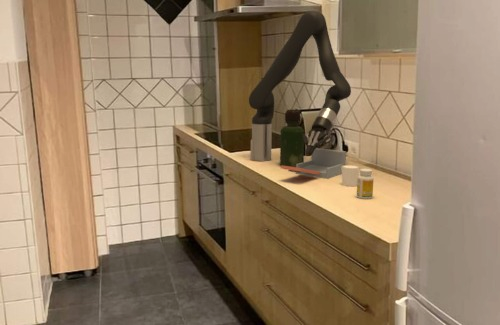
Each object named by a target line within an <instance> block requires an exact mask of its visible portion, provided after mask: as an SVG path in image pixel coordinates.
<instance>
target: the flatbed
mask: <svg viewBox="0 0 500 325" xmlns="http://www.w3.org/2000/svg"><path fill="white" fill-rule="evenodd" d="M310 157H311V158H310V160H307V161H304V162H302V163H299V164H296V168H303V169H308V170H313V171H319V172H320V175H318V174H312V173H305V172H301V173H297V172H295V174H297V175H304V176H309V177H314V176H315V177H314V178H322V179H331V178H334V177H337V176H340V175H342V168H341V167H342V166H344V165H347V164H346V163H347V151H344V150H337V149H331V148H330V149H329V148H328V149H327V148H322V147H321V148H320V149H318V148H316V149H315V150H314V152H313V154H312V155H311V156H310Z"/></svg>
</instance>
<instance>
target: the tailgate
mask: <svg viewBox="0 0 500 325" xmlns="http://www.w3.org/2000/svg"><path fill="white" fill-rule="evenodd" d="M280 169H283V170H288V172H293V173H296V172H297V173H301V172H305V173H312V174H318V175H320V172H319V171H313V170H308V169H303V168H296V167H289V166H283V165H280Z"/></svg>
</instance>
